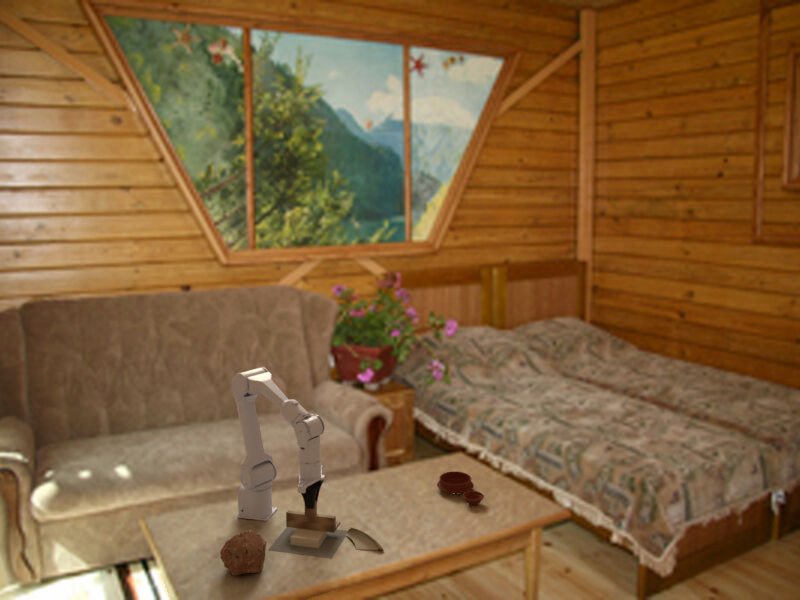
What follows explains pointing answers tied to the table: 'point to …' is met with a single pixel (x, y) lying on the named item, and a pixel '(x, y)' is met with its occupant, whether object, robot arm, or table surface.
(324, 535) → the light tan wooden block
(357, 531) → the ceramic fragment
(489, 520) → the table surface
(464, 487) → the pottery
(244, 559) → the decorative rock
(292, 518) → the walnut scraper
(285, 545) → the charcoal mat
